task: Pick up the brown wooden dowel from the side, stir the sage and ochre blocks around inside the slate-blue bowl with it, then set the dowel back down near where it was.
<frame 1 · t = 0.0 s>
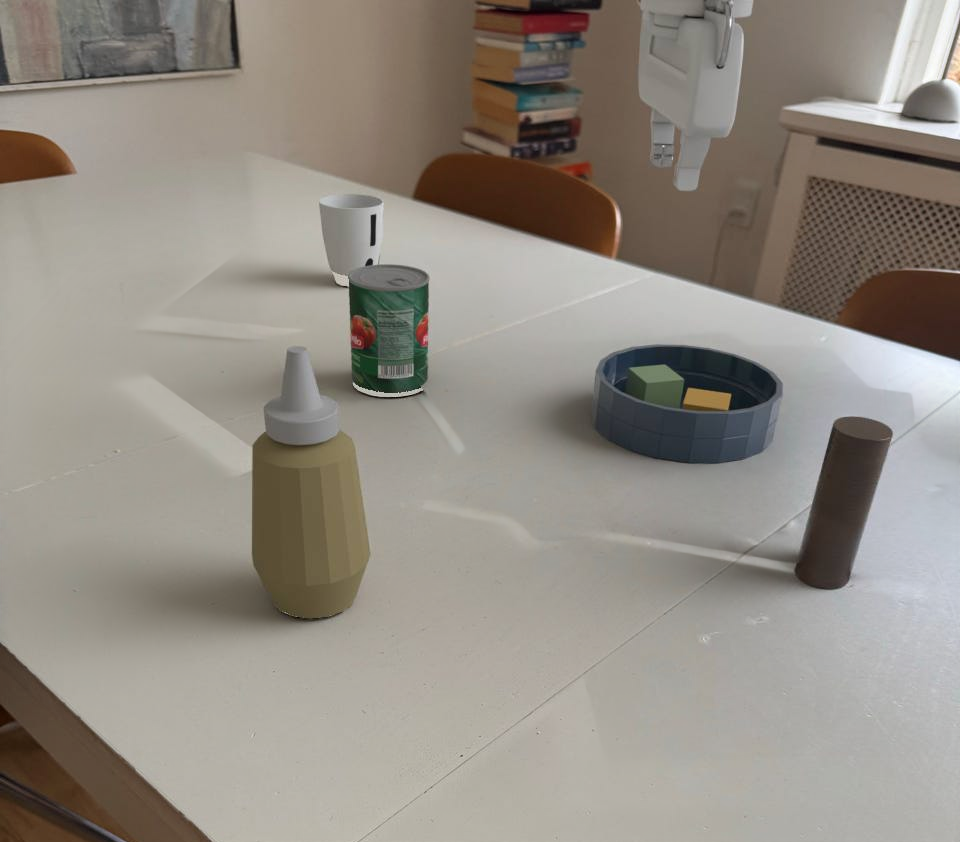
hand: (671, 177, 87), 22 cm above the table, tool pointing down, fingers open, 8 cm apart
squeeze bottle: (314, 600, 71), on the table
block sage: (650, 412, 98), point 1 cm above the table, touching bowl
brown wooden dowel: (821, 575, 76), on the table
block ochre: (700, 439, 93), point 1 cm above the table, touching bowl
cup: (354, 283, 131), on the table
bowl: (679, 431, 97), on the table
canned tomato: (390, 385, 103), on the table
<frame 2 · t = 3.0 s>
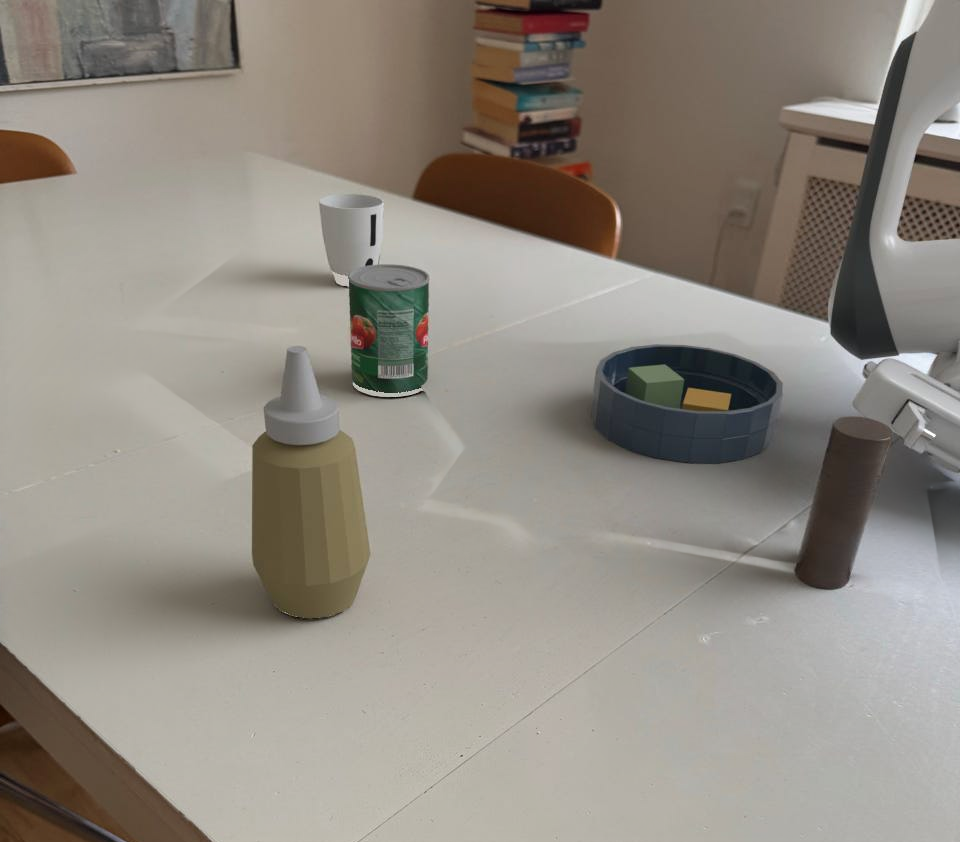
nothing on the table moved.
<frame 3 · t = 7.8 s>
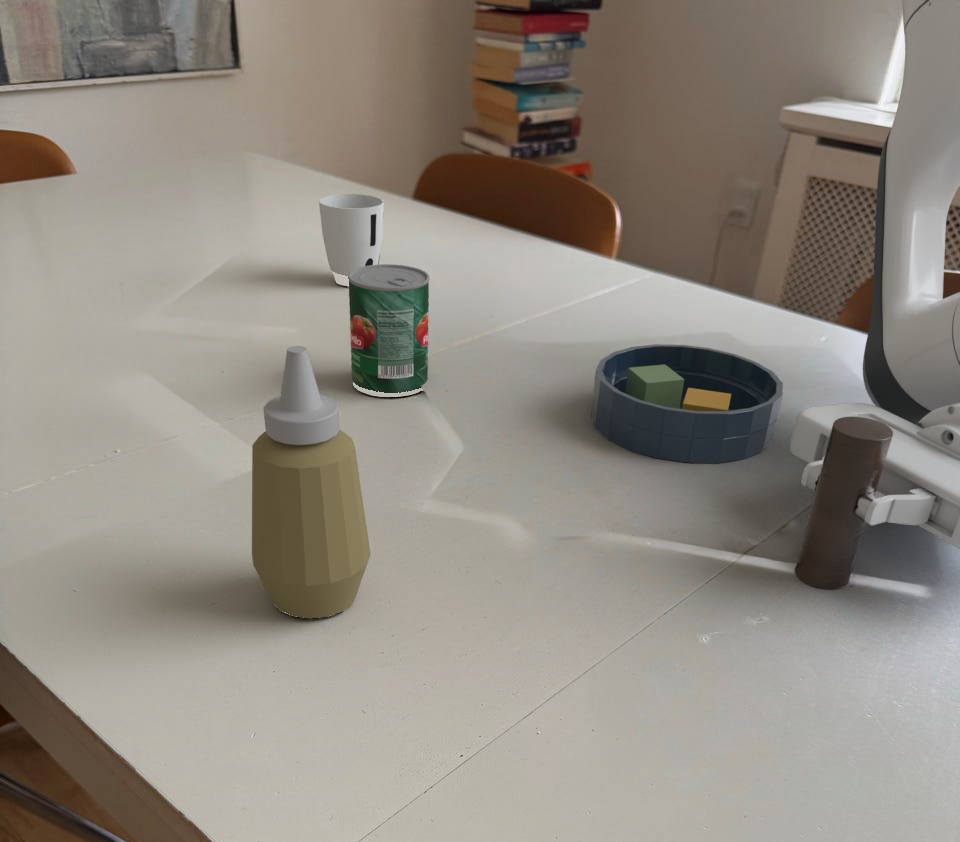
hand: (836, 494, 71), 7 cm above the table, tool horizontal, fingers closed on brown wooden dowel, 4 cm apart
brown wooden dowel: (821, 575, 76), on the table, touching gripper
everything else where it was.
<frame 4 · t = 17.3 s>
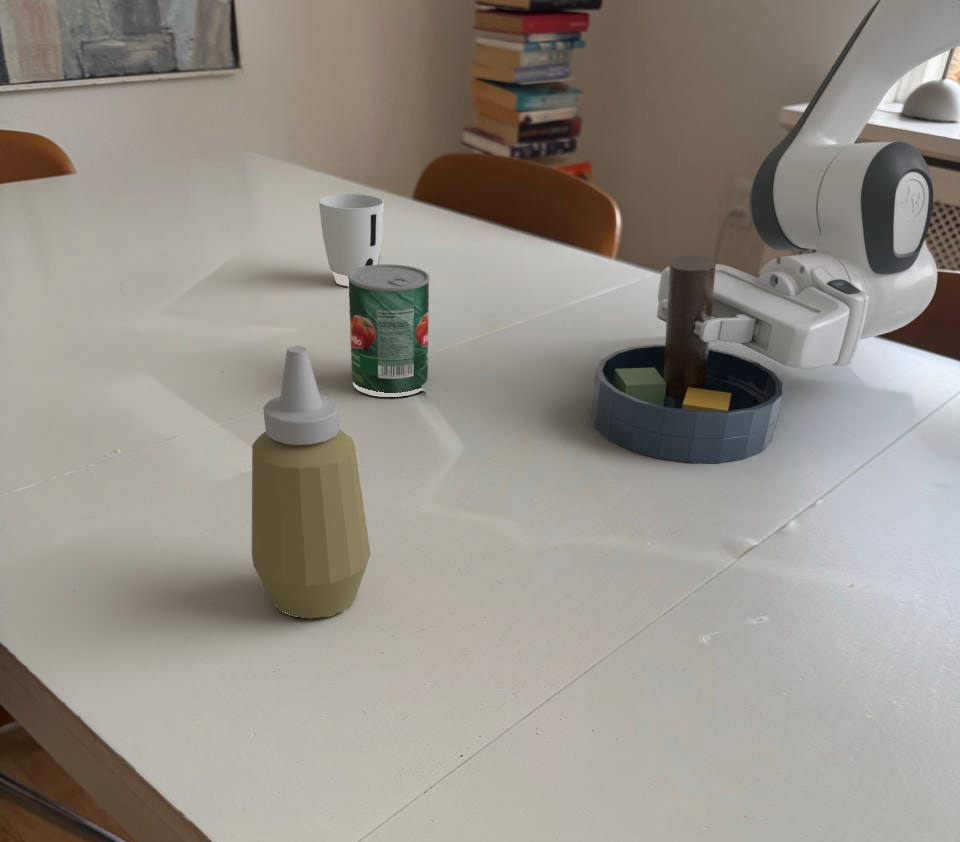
hand: (680, 321, 90), 11 cm above the table, tool horizontal, fingers closed on brown wooden dowel, 4 cm apart
block sage: (635, 415, 97), point 1 cm above the table, touching bowl, brown wooden dowel
brown wooden dowel: (683, 390, 95), point 4 cm above the table, tilted 7°, touching block ochre, block sage, gripper
block ochre: (700, 438, 93), point 1 cm above the table, touching bowl, brown wooden dowel
everything else where it was.
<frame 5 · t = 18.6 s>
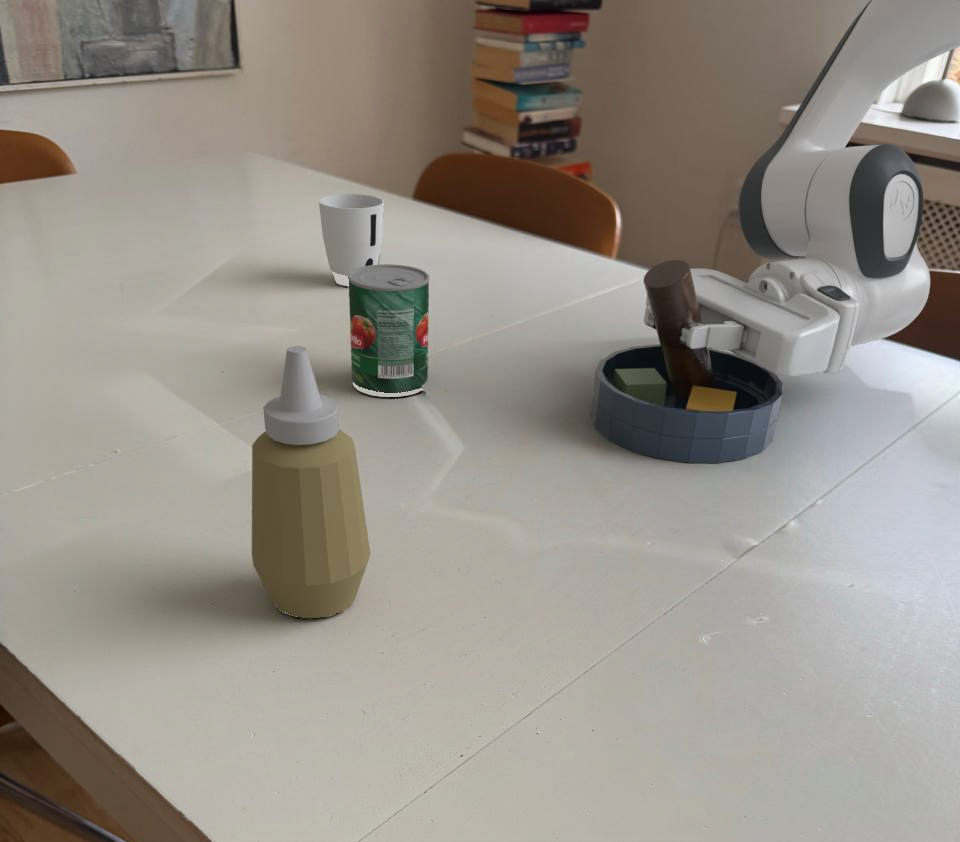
hand: (667, 327, 89), 11 cm above the table, tool horizontal, fingers closed on brown wooden dowel, 4 cm apart
block sage: (635, 415, 97), point 1 cm above the table, touching bowl
brown wooden dowel: (693, 385, 94), point 5 cm above the table, tilted 26°, touching block ochre, gripper
block ochre: (704, 437, 93), point 1 cm above the table, tilted 10°, touching bowl, brown wooden dowel
everything else where it was.
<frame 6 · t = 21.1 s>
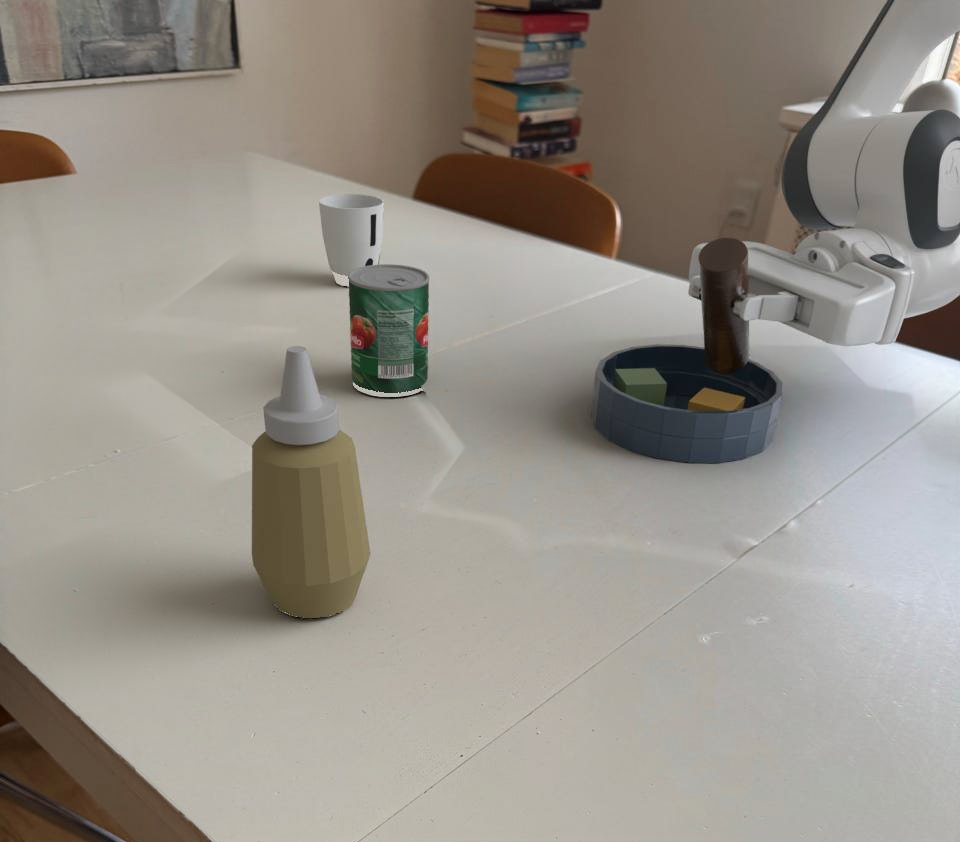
hand: (716, 298, 86), 14 cm above the table, tool horizontal, fingers closed on brown wooden dowel, 4 cm apart
brown wooden dowel: (727, 357, 93), point 7 cm above the table, tilted 29°, touching gripper
block ochre: (709, 439, 93), point 1 cm above the table, touching bowl
everything else where it was.
when the fingers open (7 cm above the table, at t = 30.3 s): brown wooden dowel moves 2 cm and tips over, point 2 cm above the table.
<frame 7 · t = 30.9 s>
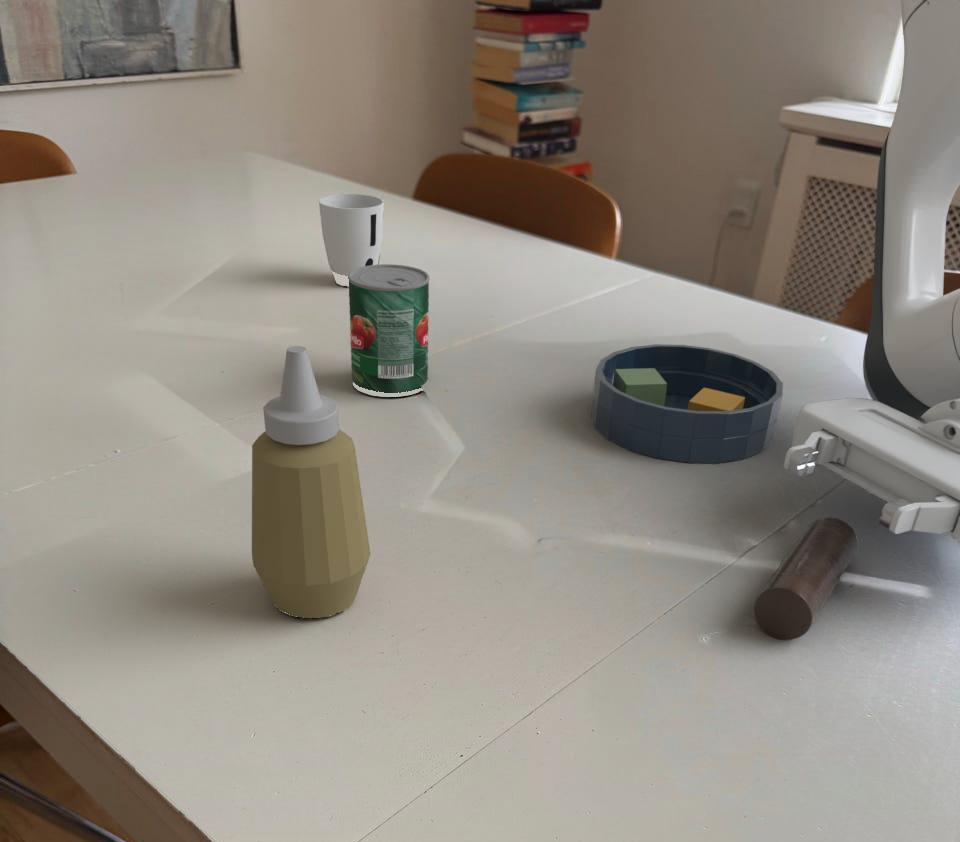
hand: (837, 489, 71), 7 cm above the table, tool horizontal, fingers open, 8 cm apart
brown wooden dowel: (830, 541, 76), point 2 cm above the table, tilted 90°
everything else where it was.
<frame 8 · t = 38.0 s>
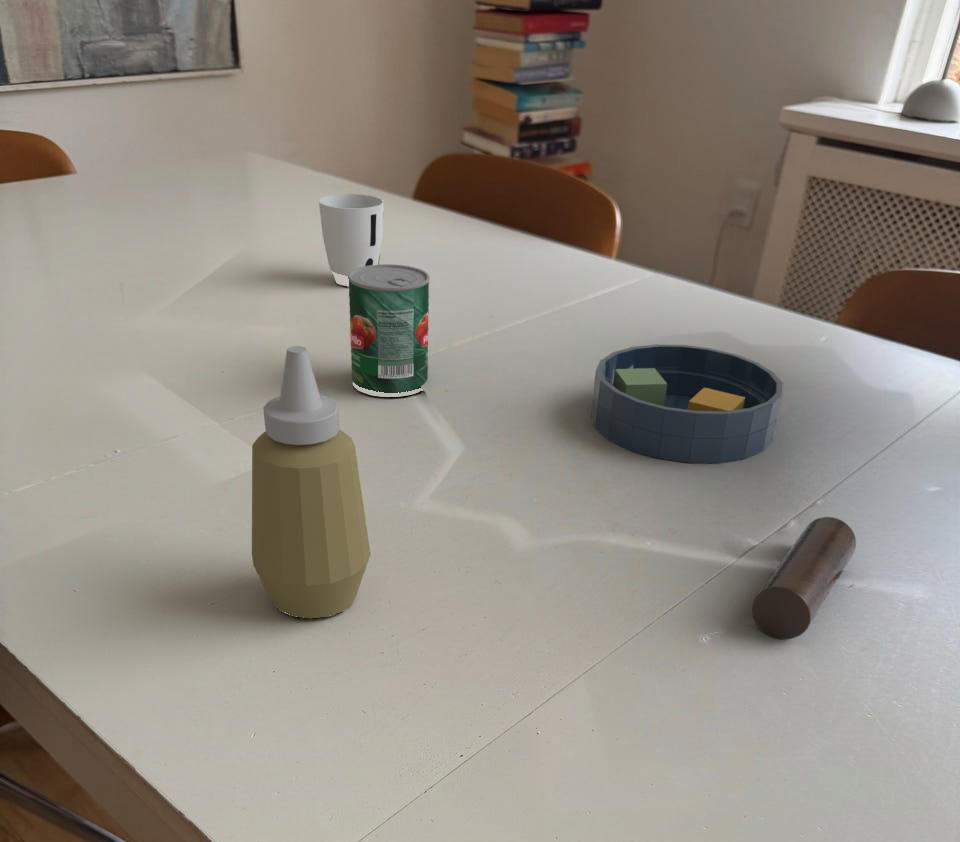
nothing on the table moved.
at the end: block sage moved 1.8 cm from its start; block sage inside the target area in the bowl (4.4 cm from its centre), point 0.8 cm above the bowl's base; the gripper is holding nothing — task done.
